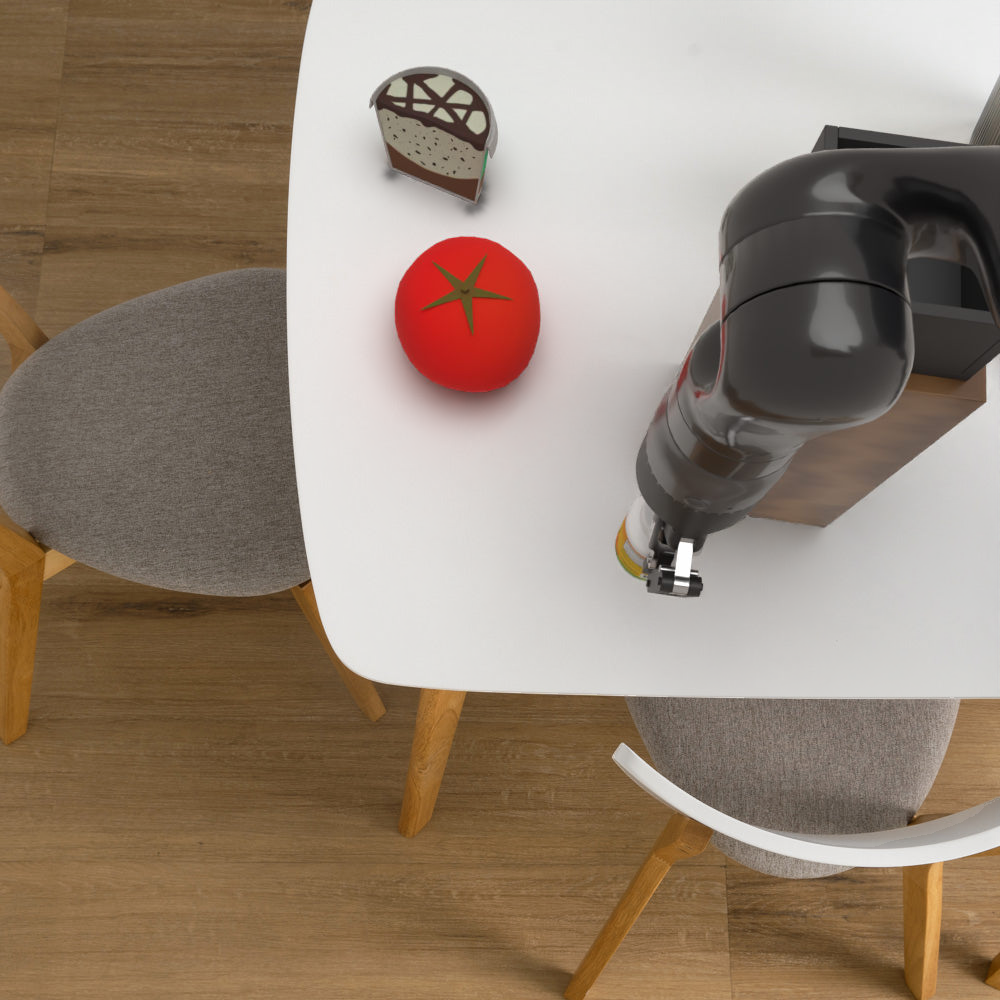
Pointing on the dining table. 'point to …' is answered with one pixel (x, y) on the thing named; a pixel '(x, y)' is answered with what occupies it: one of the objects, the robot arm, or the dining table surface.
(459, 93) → the food container
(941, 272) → the dark grey open box
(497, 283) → the tomato
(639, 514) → the supplement bottle
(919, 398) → the stand
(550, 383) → the dining table surface
